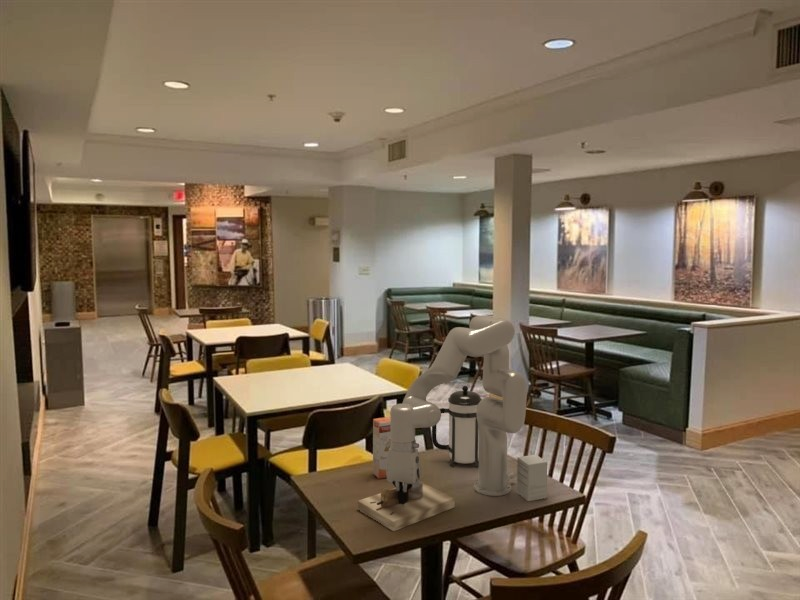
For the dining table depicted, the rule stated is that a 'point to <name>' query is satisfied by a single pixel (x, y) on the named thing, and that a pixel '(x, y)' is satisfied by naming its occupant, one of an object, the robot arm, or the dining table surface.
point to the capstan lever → (392, 495)
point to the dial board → (407, 508)
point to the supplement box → (532, 477)
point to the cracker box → (381, 445)
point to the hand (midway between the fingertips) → (403, 502)
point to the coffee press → (461, 428)
